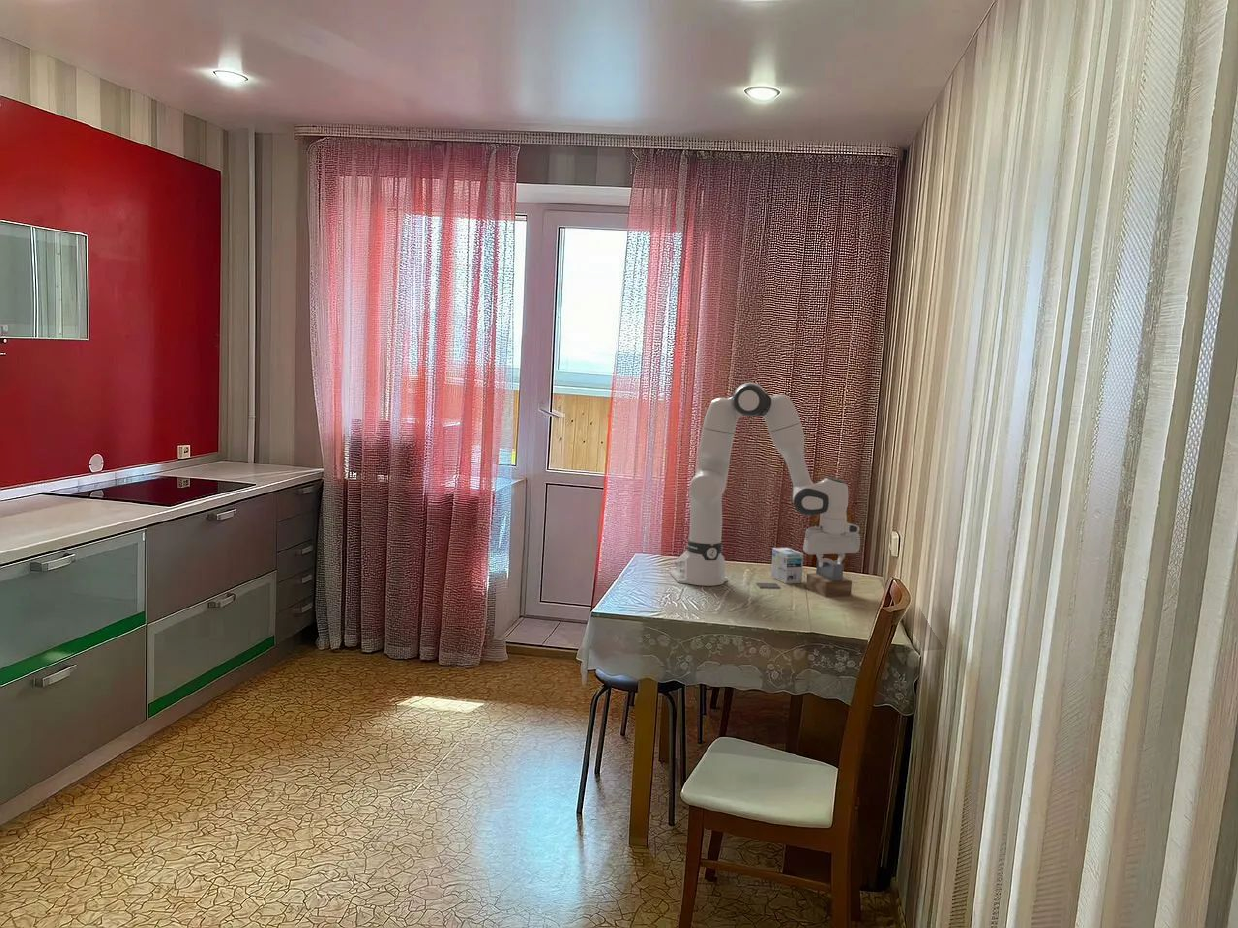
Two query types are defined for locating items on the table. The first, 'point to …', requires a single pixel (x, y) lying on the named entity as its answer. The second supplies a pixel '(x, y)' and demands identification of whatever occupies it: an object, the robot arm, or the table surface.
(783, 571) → the light bulb box
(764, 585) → the loose cover plate
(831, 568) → the metal housing
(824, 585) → the wooden stand
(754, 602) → the table surface
